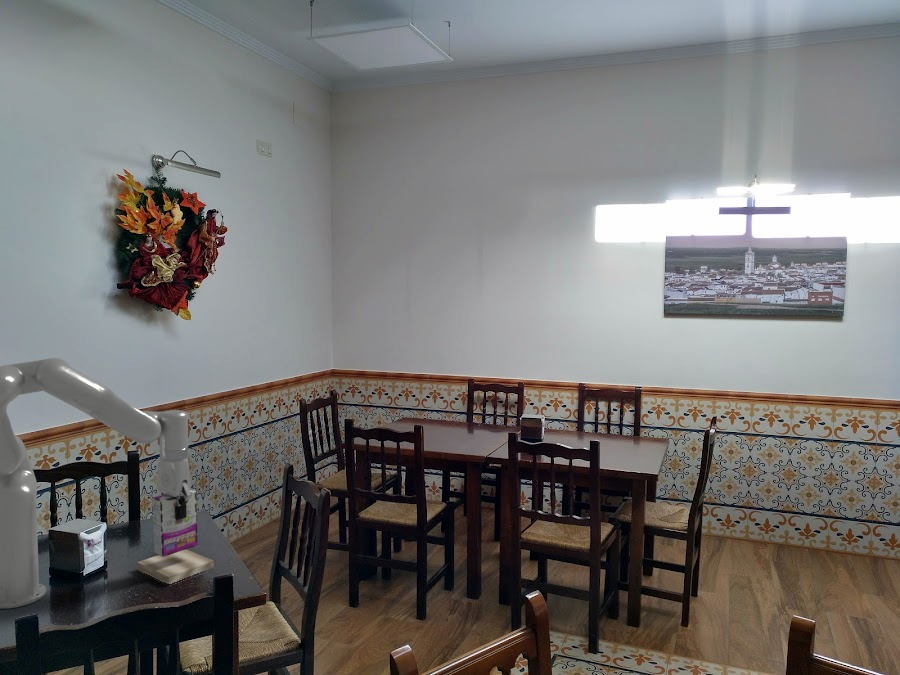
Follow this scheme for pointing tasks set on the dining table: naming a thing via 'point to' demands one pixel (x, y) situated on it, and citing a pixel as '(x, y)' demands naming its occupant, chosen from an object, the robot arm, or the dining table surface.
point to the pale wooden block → (175, 566)
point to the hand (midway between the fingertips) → (175, 515)
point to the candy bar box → (173, 525)
